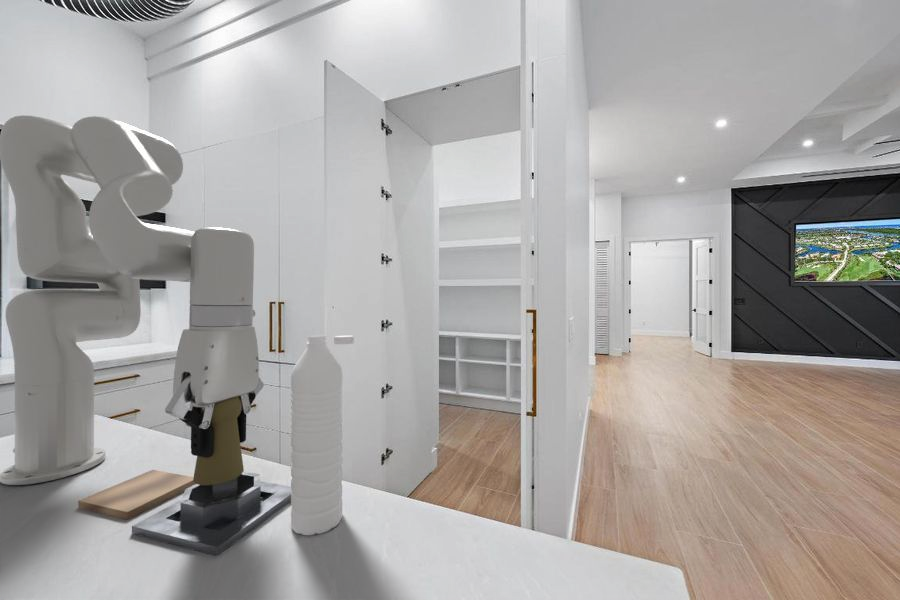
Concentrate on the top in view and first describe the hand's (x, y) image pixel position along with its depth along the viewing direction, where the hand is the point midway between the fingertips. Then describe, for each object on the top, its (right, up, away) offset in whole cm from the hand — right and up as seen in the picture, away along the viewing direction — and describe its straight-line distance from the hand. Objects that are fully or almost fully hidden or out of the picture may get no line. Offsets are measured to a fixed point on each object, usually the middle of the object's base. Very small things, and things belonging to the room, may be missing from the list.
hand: (219, 446), depth 51 cm
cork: (0, -4, 0) cm, 4 cm away
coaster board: (-15, -9, +4) cm, 18 cm away
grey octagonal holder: (+1, -9, 0) cm, 9 cm away
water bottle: (+16, -9, -3) cm, 18 cm away
